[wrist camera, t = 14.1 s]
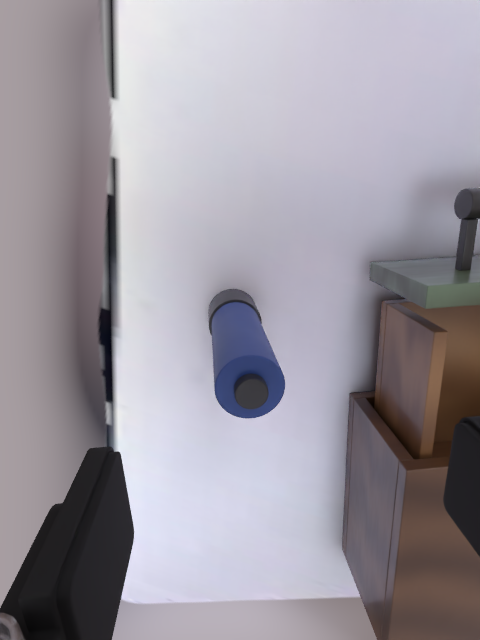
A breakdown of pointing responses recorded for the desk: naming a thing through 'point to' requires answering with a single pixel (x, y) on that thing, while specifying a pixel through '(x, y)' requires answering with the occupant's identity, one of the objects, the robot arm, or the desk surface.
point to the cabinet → (405, 537)
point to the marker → (243, 357)
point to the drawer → (431, 341)
